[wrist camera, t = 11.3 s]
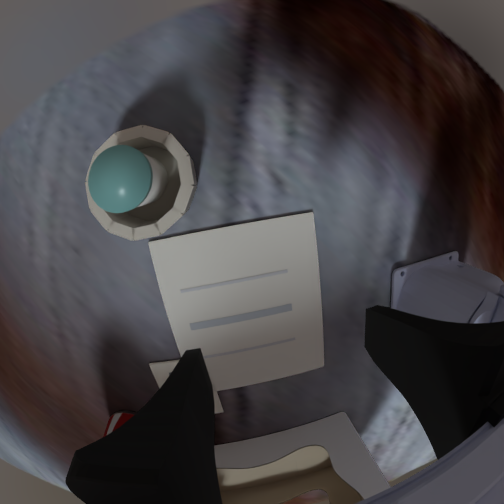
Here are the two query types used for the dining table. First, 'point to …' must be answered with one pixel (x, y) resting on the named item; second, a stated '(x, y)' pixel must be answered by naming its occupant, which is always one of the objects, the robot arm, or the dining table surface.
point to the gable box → (299, 465)
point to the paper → (245, 298)
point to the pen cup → (173, 199)
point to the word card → (164, 370)
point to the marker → (125, 179)
